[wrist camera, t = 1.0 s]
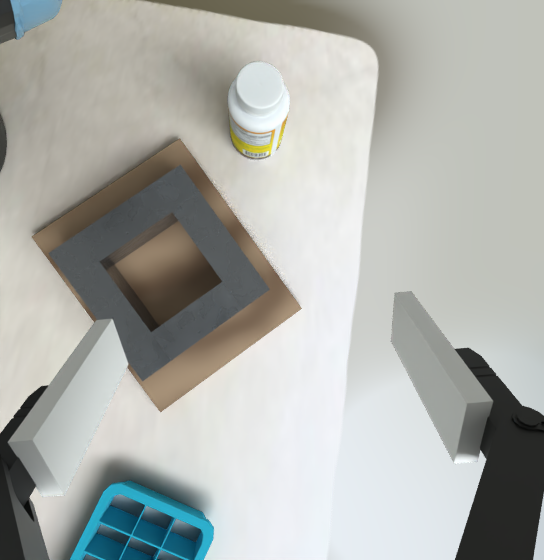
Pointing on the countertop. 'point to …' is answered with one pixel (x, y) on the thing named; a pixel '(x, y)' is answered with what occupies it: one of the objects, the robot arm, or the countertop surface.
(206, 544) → the ice cube tray
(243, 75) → the supplement bottle
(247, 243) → the brown base board
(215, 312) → the square socket
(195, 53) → the countertop surface
